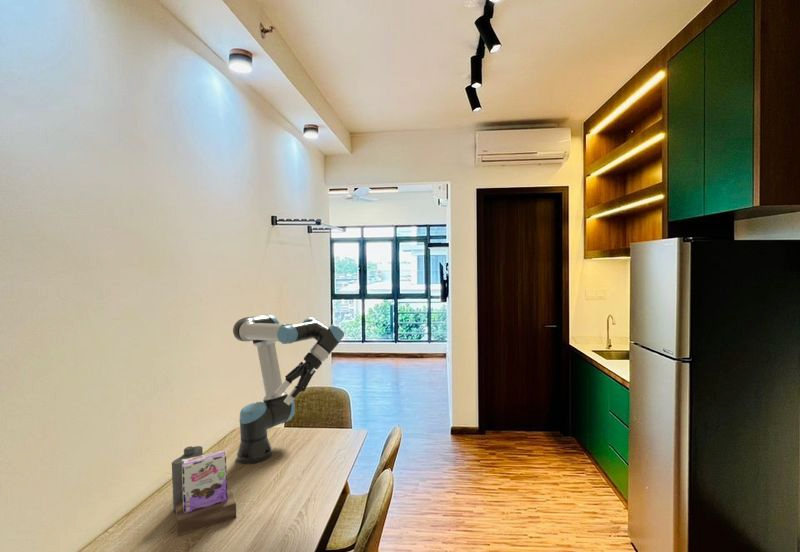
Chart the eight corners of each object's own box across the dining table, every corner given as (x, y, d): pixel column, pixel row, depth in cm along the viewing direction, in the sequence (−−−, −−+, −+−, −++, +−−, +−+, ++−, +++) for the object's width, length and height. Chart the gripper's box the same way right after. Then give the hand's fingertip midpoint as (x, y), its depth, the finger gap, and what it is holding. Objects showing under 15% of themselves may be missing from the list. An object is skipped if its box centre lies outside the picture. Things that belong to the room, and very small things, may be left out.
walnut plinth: (176, 517, 142) (175, 503, 142) (231, 500, 151) (230, 487, 151) (177, 536, 131) (177, 521, 131) (236, 517, 141) (235, 503, 141)
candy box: (183, 514, 135) (181, 465, 134) (182, 505, 140) (181, 458, 140) (228, 501, 142) (226, 455, 141) (225, 493, 147) (224, 448, 146)
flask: (186, 512, 144) (183, 457, 144) (170, 512, 145) (168, 457, 144) (208, 489, 159) (206, 439, 159) (194, 489, 160) (192, 439, 159)
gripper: (333, 368, 162) (297, 413, 154) (312, 357, 183) (280, 396, 176) (319, 356, 159) (282, 402, 151) (300, 347, 180) (267, 386, 173)
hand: (281, 398), depth 163 cm, fingers open, 13 cm apart
